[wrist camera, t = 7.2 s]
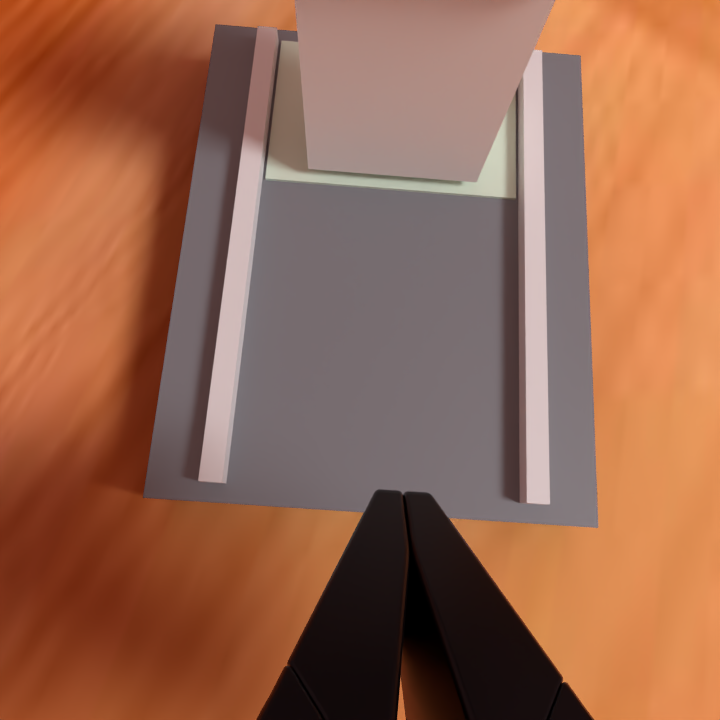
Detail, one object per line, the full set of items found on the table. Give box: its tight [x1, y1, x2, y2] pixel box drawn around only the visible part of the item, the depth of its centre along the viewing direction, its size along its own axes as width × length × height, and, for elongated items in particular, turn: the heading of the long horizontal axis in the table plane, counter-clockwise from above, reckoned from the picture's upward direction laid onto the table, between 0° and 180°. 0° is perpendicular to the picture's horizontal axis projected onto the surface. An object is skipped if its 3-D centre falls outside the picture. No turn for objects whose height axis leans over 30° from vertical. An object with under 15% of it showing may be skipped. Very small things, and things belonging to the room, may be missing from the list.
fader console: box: [143, 24, 598, 528], centre depth 18 cm, size 15×12×3 cm
